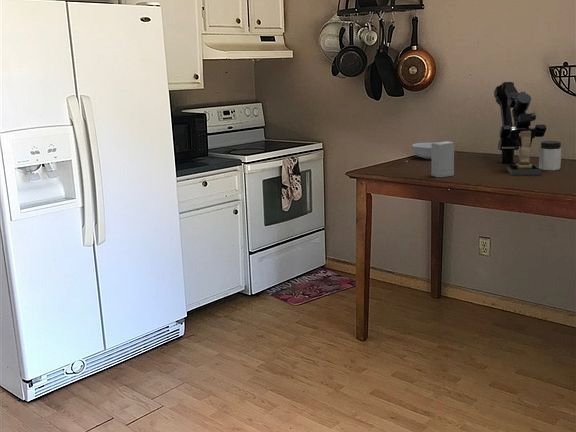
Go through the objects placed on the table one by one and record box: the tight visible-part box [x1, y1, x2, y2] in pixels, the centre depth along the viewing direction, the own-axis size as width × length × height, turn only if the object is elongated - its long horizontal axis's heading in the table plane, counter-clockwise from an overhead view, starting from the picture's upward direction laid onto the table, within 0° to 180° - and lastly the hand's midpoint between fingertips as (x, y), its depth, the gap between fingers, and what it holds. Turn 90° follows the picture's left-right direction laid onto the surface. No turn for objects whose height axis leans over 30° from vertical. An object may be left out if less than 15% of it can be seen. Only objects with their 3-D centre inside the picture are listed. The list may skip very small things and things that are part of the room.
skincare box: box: [430, 140, 455, 178], centre depth 278 cm, size 8×6×15 cm
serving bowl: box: [411, 142, 433, 160], centre depth 327 cm, size 21×21×7 cm
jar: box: [538, 140, 562, 171], centre depth 285 cm, size 9×8×12 cm
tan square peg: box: [518, 131, 531, 163], centre depth 276 cm, size 4×4×13 cm
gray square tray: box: [506, 162, 542, 177], centre depth 279 cm, size 12×12×4 cm
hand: (525, 146), depth 275 cm, fingers closed on tan square peg, 3 cm apart
